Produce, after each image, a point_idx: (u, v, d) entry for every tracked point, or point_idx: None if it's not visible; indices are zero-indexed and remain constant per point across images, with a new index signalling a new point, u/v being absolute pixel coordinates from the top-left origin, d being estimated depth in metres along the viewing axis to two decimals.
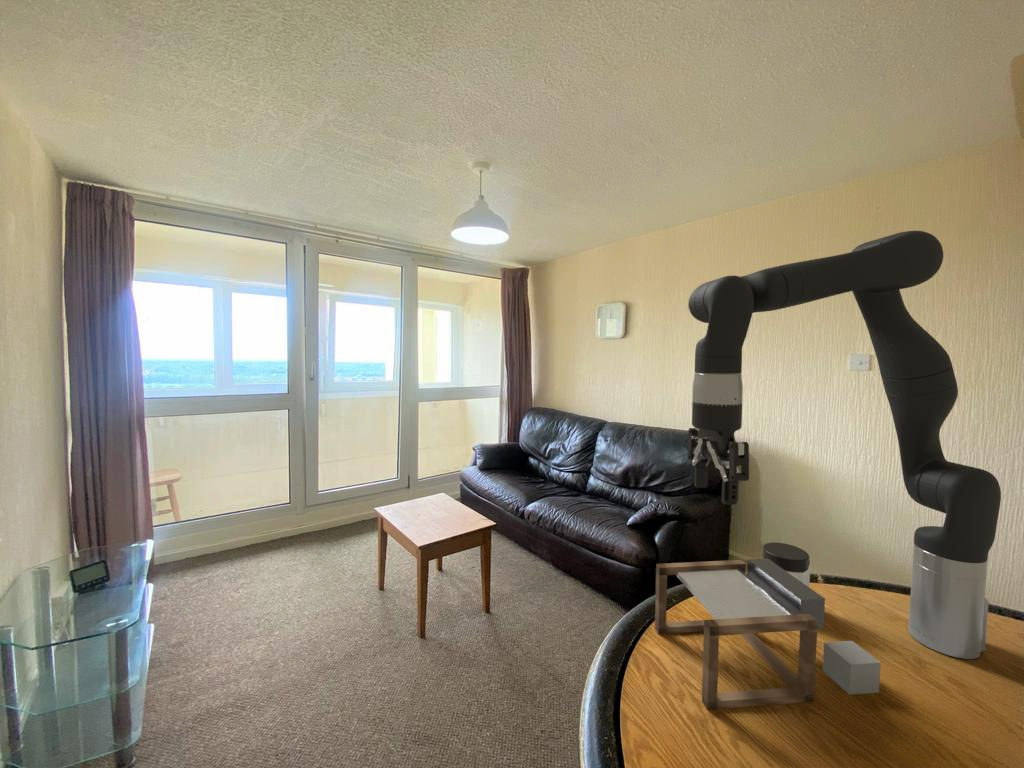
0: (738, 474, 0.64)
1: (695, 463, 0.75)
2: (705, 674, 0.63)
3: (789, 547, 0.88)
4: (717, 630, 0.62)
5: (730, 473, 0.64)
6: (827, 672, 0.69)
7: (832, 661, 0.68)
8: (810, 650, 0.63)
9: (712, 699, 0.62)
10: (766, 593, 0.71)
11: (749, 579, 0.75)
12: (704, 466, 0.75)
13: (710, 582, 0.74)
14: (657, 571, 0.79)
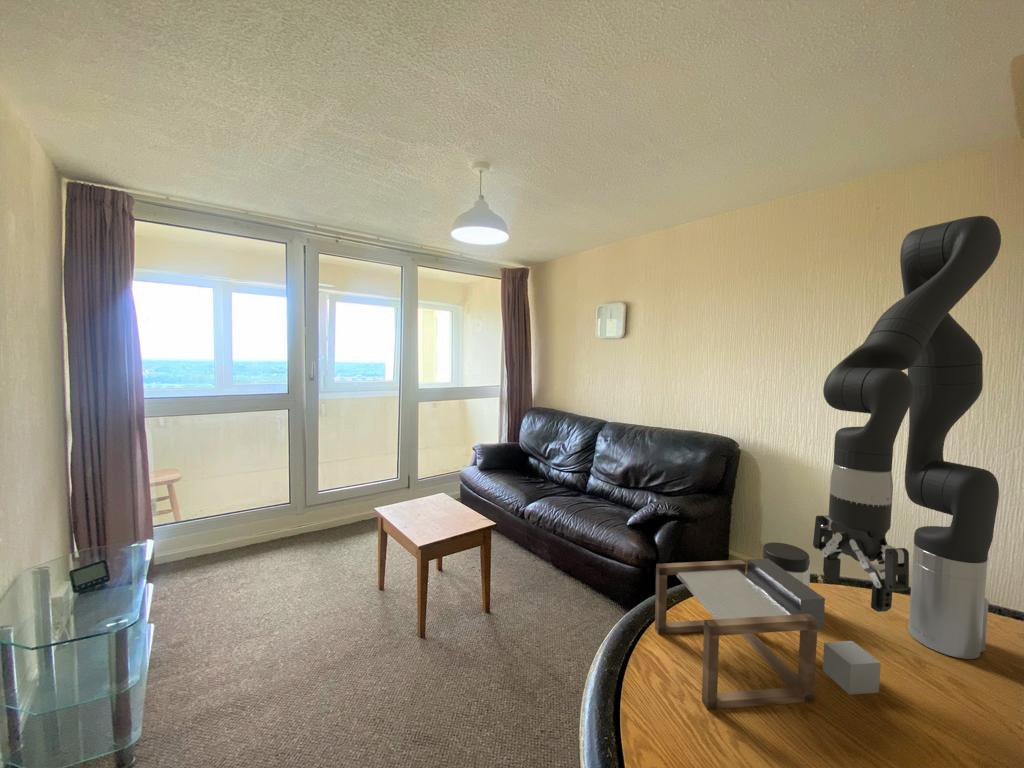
0: (897, 583, 0.59)
1: (827, 555, 0.70)
2: (705, 674, 0.63)
3: (789, 547, 0.88)
4: (717, 630, 0.62)
5: (887, 581, 0.60)
6: (827, 672, 0.69)
7: (832, 661, 0.68)
8: (810, 650, 0.63)
9: (712, 699, 0.62)
10: (766, 593, 0.71)
11: (749, 579, 0.75)
12: (836, 558, 0.70)
13: (710, 582, 0.74)
14: (657, 571, 0.79)
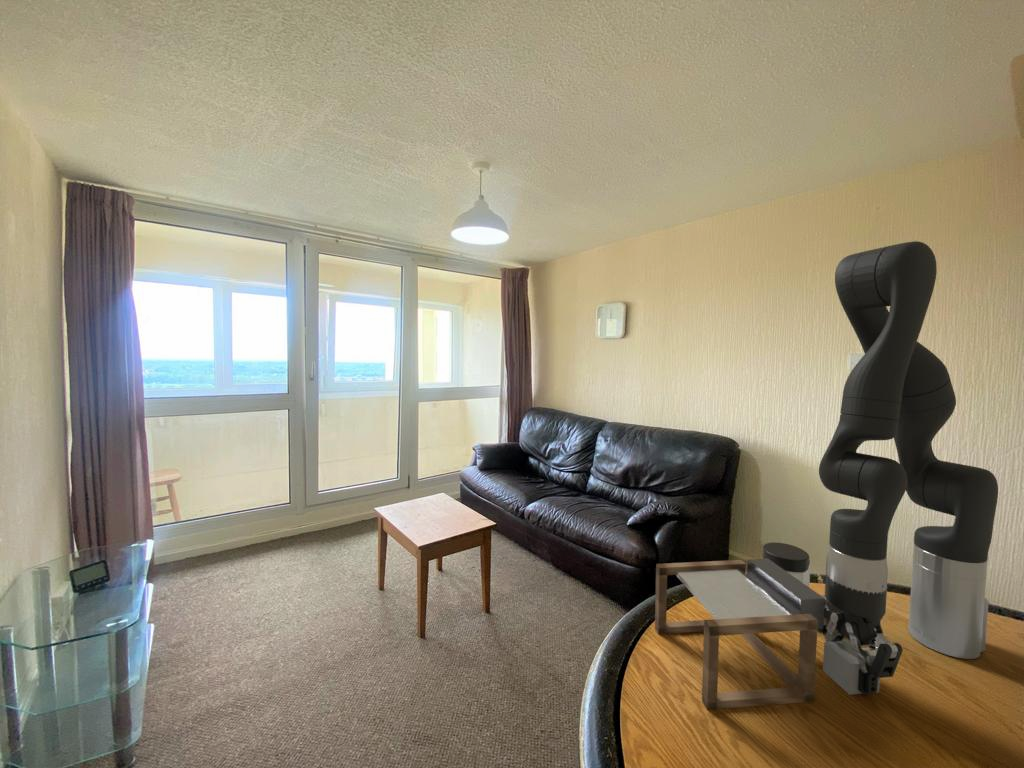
0: None
1: (830, 641, 0.70)
2: (705, 674, 0.63)
3: (789, 547, 0.88)
4: (717, 630, 0.62)
5: (872, 668, 0.62)
6: (827, 672, 0.69)
7: (832, 661, 0.68)
8: (810, 650, 0.63)
9: (712, 699, 0.62)
10: (766, 593, 0.71)
11: (749, 579, 0.75)
12: None
13: (710, 582, 0.74)
14: (657, 571, 0.79)
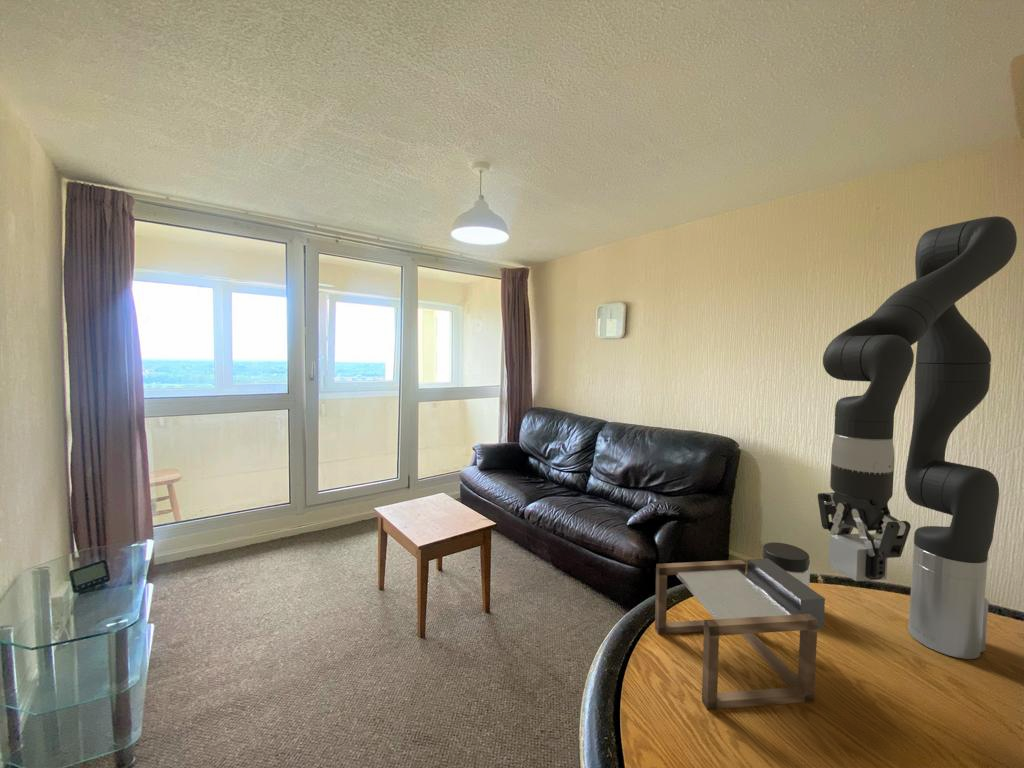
0: (889, 551, 0.61)
1: None
2: (705, 674, 0.63)
3: (789, 547, 0.88)
4: (717, 630, 0.62)
5: (880, 549, 0.61)
6: (833, 564, 0.68)
7: (838, 552, 0.67)
8: (810, 650, 0.63)
9: (712, 699, 0.62)
10: (766, 593, 0.71)
11: (749, 579, 0.75)
12: None
13: (710, 582, 0.74)
14: (657, 571, 0.79)
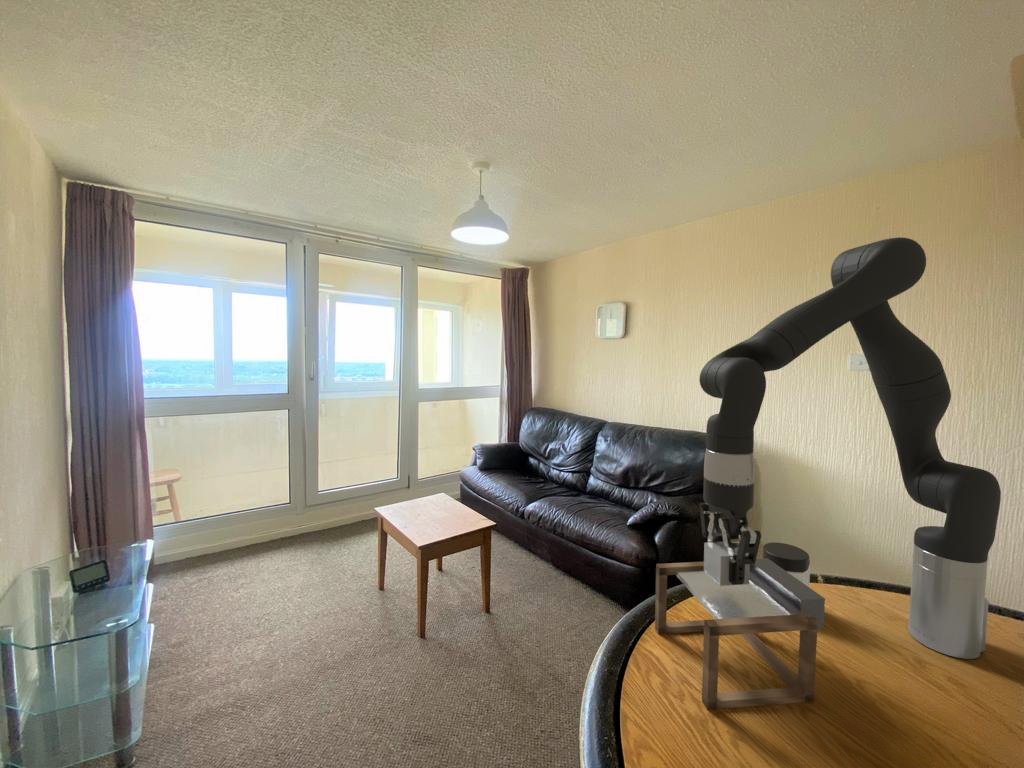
0: (745, 558, 0.65)
1: None
2: (705, 674, 0.63)
3: (789, 547, 0.88)
4: (717, 630, 0.62)
5: (737, 556, 0.66)
6: (706, 570, 0.72)
7: (709, 558, 0.71)
8: (810, 650, 0.63)
9: (712, 699, 0.62)
10: (766, 593, 0.71)
11: (749, 579, 0.75)
12: None
13: (710, 582, 0.74)
14: (657, 571, 0.79)
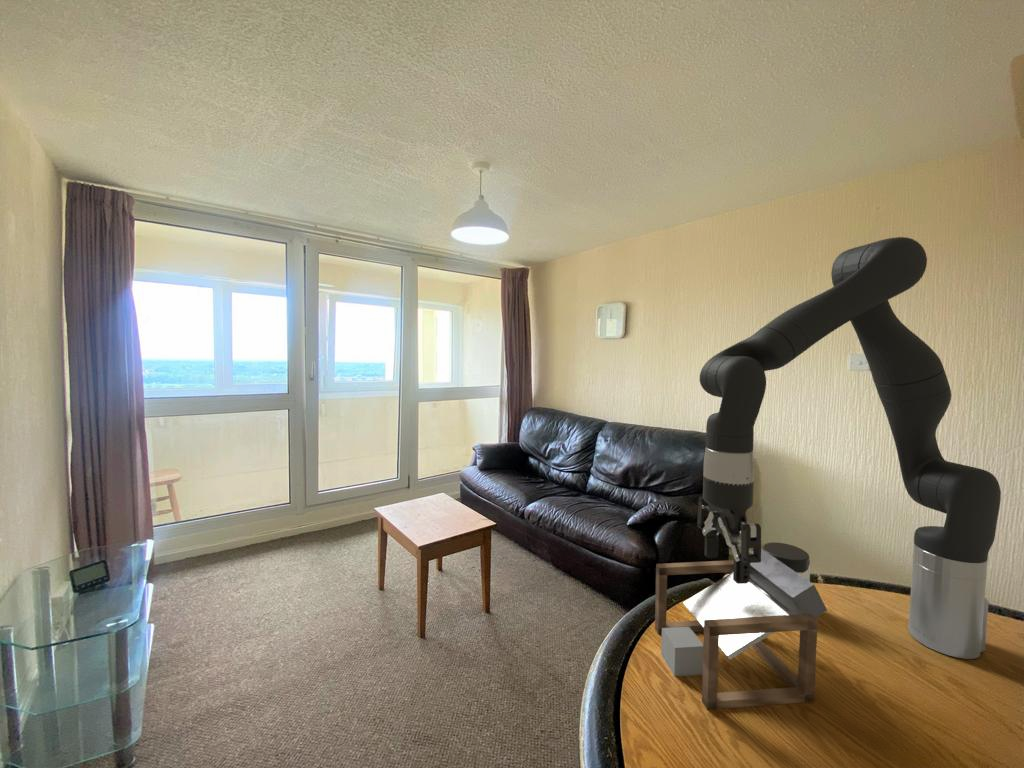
0: (750, 556, 0.64)
1: (705, 533, 0.75)
2: (705, 674, 0.63)
3: (789, 547, 0.88)
4: (717, 630, 0.62)
5: (742, 555, 0.64)
6: None
7: None
8: (810, 650, 0.63)
9: (712, 699, 0.62)
10: (765, 594, 0.71)
11: None
12: (714, 536, 0.75)
13: (713, 602, 0.75)
14: (657, 571, 0.79)
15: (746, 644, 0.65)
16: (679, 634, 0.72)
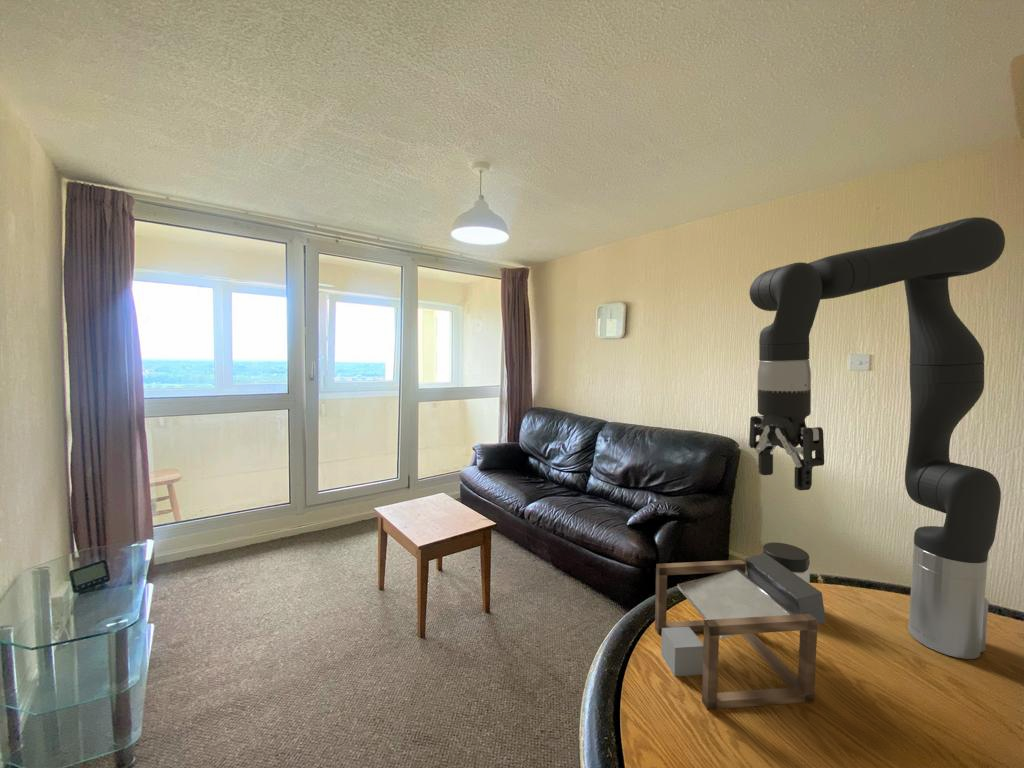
0: (813, 459, 0.64)
1: (760, 451, 0.75)
2: (705, 674, 0.63)
3: (789, 547, 0.88)
4: (717, 630, 0.62)
5: (805, 459, 0.65)
6: None
7: None
8: (810, 650, 0.63)
9: (712, 699, 0.62)
10: (766, 593, 0.71)
11: (748, 579, 0.75)
12: (769, 453, 0.75)
13: (710, 590, 0.75)
14: (657, 571, 0.79)
15: None
16: (679, 634, 0.72)
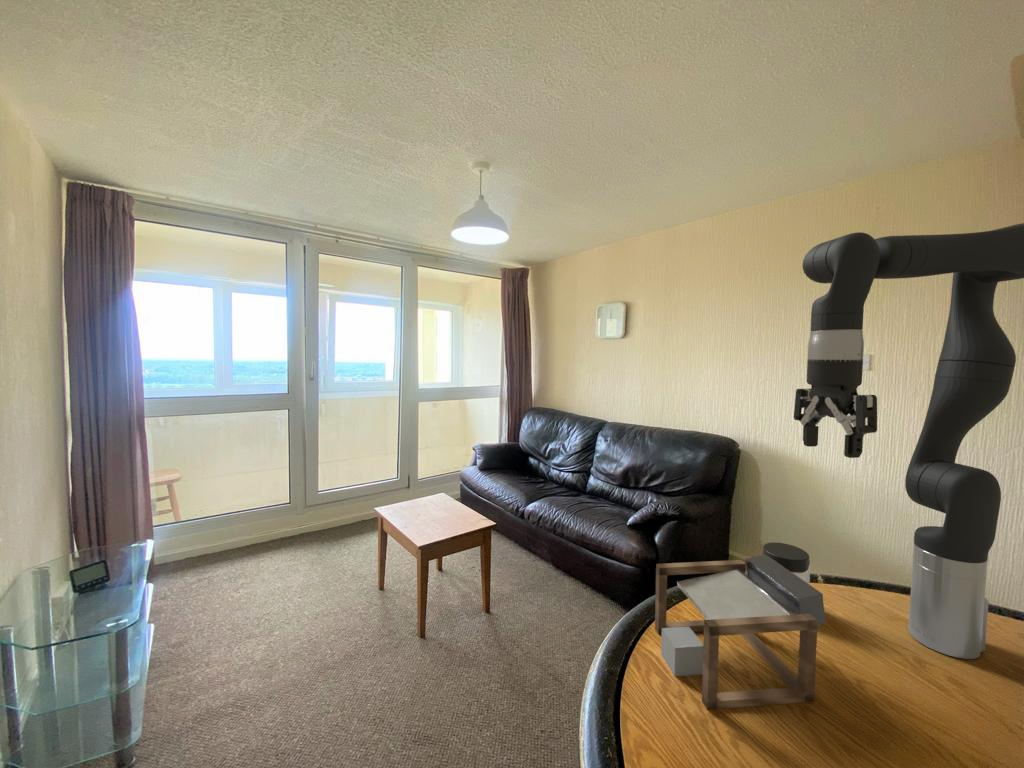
0: (866, 426, 0.65)
1: (805, 422, 0.76)
2: (705, 674, 0.63)
3: (789, 547, 0.88)
4: (717, 630, 0.62)
5: (857, 425, 0.66)
6: None
7: None
8: (810, 650, 0.63)
9: (712, 699, 0.62)
10: (766, 593, 0.71)
11: (748, 579, 0.75)
12: (814, 425, 0.76)
13: (710, 588, 0.75)
14: (657, 571, 0.79)
15: None
16: (679, 634, 0.72)
